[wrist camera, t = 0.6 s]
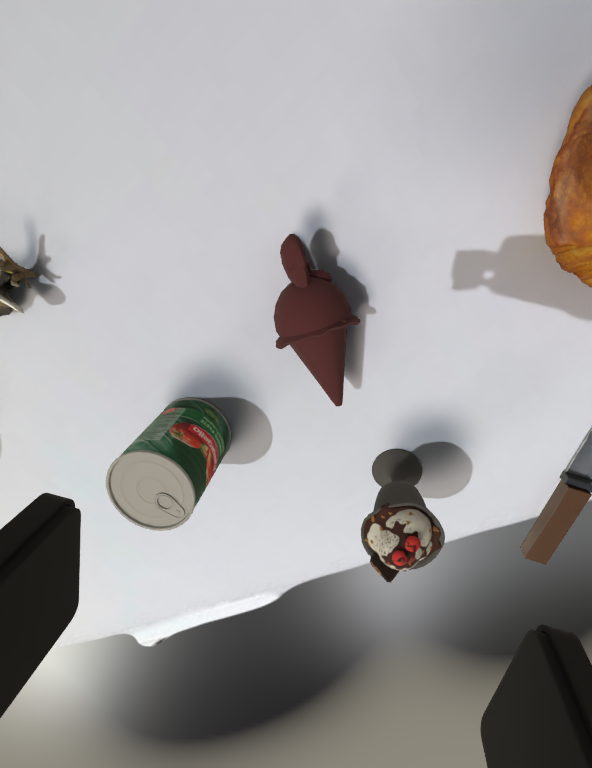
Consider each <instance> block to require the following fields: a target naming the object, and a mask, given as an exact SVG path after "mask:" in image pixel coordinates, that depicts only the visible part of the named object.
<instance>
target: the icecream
mask: <svg viewBox="0 0 592 768" xmlns="http://www.w3.org/2000/svg"><path fill="white" fill-rule="evenodd" d="M280 254H281V259H282V265H283V267H284V269H285V271H286V273H287V276H288V278H289V279H290V280H291V282H292V283H290V284H289V285H288V286H287V287H286V288H285V289H284V290H283V291H282V292H281V294H280V296H279V298H278V301H277V303H276V306H275V314H274V321H275V327H276V332H277V333H278V335H279V336H280V337H279V338H278V339H277V341H276V347H277V348H279V349H283V348H284V347H286V346H287V345H289V344H290V346H291V347H292V348H293V349H294V351H295V352H296V353H297V355H298V356H299V357H300V359H301V360H302V361H303V363H304V364H305V365H306V367H307V368H308V369H309V371H310V372H311V373H312V375H313V376H314V377H315V379H316V380H317V381H318V383H319V384H320V385H321V387H322V388H323V389H324V391H325V392H326V394H327V395H328V396H329V398H330V399H331V400H332V402H333V403H334V404H335V405H336V406H341V405H342V400H343V383H344V366H345V349H346V332H347V326H349V325H358V324H359V323H360V319H359V318H358V317H357V316H355V315H352V313H351V307H350V305H349V303H348V300H347V298H346V296H345V294H344V293H343V292H342V291H341V290H340V289H339V287H338V286H337V285H335V284H334V283H332V282H331V281H332V279H331V276H330V273H327V272H325V271H322V270H320V269H319V270H311V266H310V264H309V263H308V260H307V258H306V255H305V252H304V248H303V245H302V243H301V241H300V239H299V237H297V236H296V235H295V234H290V235H289V236H288V237H287V238H286V239H285V241H284V242H283V243H282V245H281V251H280Z"/></svg>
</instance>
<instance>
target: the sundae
mask: <svg viewBox="0 0 592 768" xmlns="http://www.w3.org/2000/svg"><path fill="white" fill-rule="evenodd" d="M372 474H373V477H374V479H375V481H376V482H377V483H378V484H379V485H380V486H381V487H382V488H381V489H380V491H379V493H378V496H377V498H376V502H375V506H374V511H373V512H372V513H370V514H369V515H368V516H367V517H366V518H365V519H364V521H363V524H362V528H361V538H362V543H363V546H364V548H365V550H366V551H367V553H368V554H369V555H370V556H371V559H370V563H371V565H372V566H373V567H374V568H375V570H377V572H378V573H379V574H380V575H381V576H382V577H383V578H384V579H385V580H386V581H387V582H391V581H392V580H393V579H394V577H395V576H396V575H397V573H398V572H399V571H400V570H401V571H406V570H411V569H417V568H420V567H423V566H425V565H427V564H428V563H430V562H431V561H432V560H433V559H434V558H435V557H436V556H437V555H438V553H439V552H440V550H441V548H442V547H443V545H444V540H445V535H444V531H443V528H442V526H441V524H440V522H439V521H438V519H437V518H436V517H435V516H434V515H433V514H432V513H431V512H430V511H429V510H428V509H427V508H426V505H425V503H424V500H423V498H422V497H421V495H420V493H419V491H418V490H417V488H416V487H415V485H416V484H417V483H418V481H419V480H420V478H421V475H422V467H421V464H420V462H419V460H418V459H417V458H416V457H415V456H414V455H413V454H412V453H409V452H407V451H404V450H389V451H386V452H384V453H382V454H381V455H379V456H378V457H377V458H376V459H375V461H374V463H373V466H372Z"/></svg>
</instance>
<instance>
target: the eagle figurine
mask: <svg viewBox="0 0 592 768" xmlns="http://www.w3.org/2000/svg"><path fill="white" fill-rule="evenodd" d="M0 256H1V257H2V259H3V262H2V263H1V264H0V270H1V272H0V316H3V315H9V314H10V313H11V312H12V311H13V310H12V308H13V309H15V310H16V311H18V312H20V313H24V311H23V309H22V308H21V307H20V306H19V305H17V304H16V303H14V302H13V301H12V300H11V298H10V297H9V296H8V295H9V293H10V292H11V290H13V289H14V288H15V287H19V286H20V285H19V284H20V283H21V281H23V282H24V284H25V285H26V286H27V287H29V288H31V284H30V283H29V282H28V281H27V278H28V277H37V276H38V274H37V273H35V272H30V271H29V270H28V269H25V268H24V267H21V266H19V265H18V264H17V263H15V262H14V261H13V260H12V259H11V258H10V257H9V256H8V255H7V254H6V253H5V251H4V250H3V249H2V248H1V247H0Z"/></svg>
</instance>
